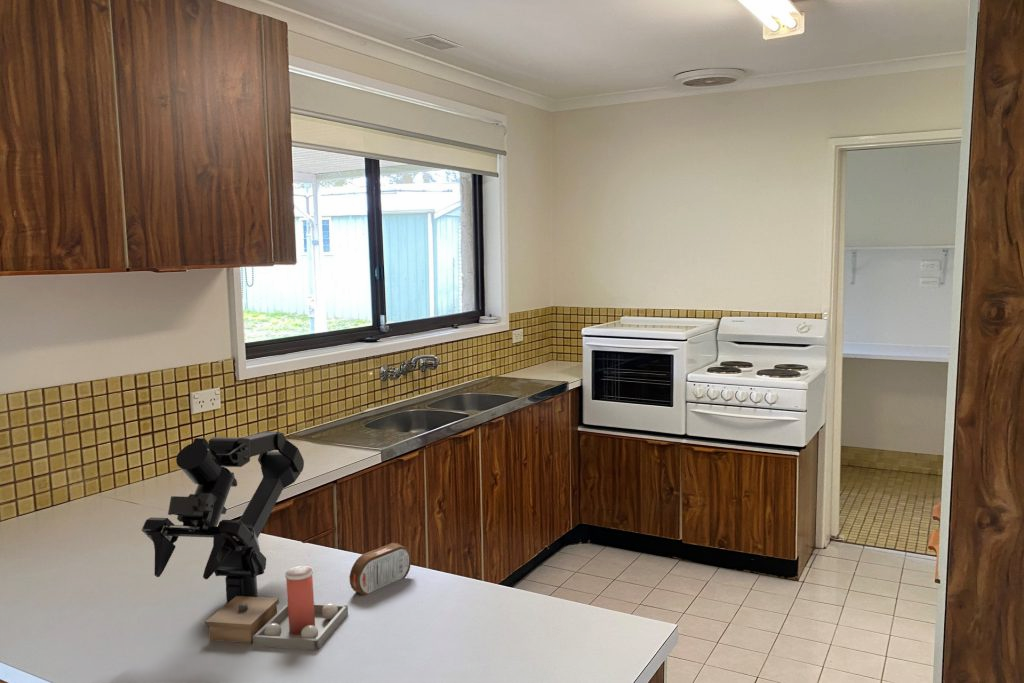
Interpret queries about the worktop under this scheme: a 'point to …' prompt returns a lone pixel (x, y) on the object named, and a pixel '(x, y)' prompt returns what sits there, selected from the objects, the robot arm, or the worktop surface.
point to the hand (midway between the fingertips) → (180, 577)
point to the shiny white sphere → (272, 630)
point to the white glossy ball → (309, 632)
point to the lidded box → (241, 618)
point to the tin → (380, 568)
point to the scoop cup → (300, 598)
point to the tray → (296, 641)
